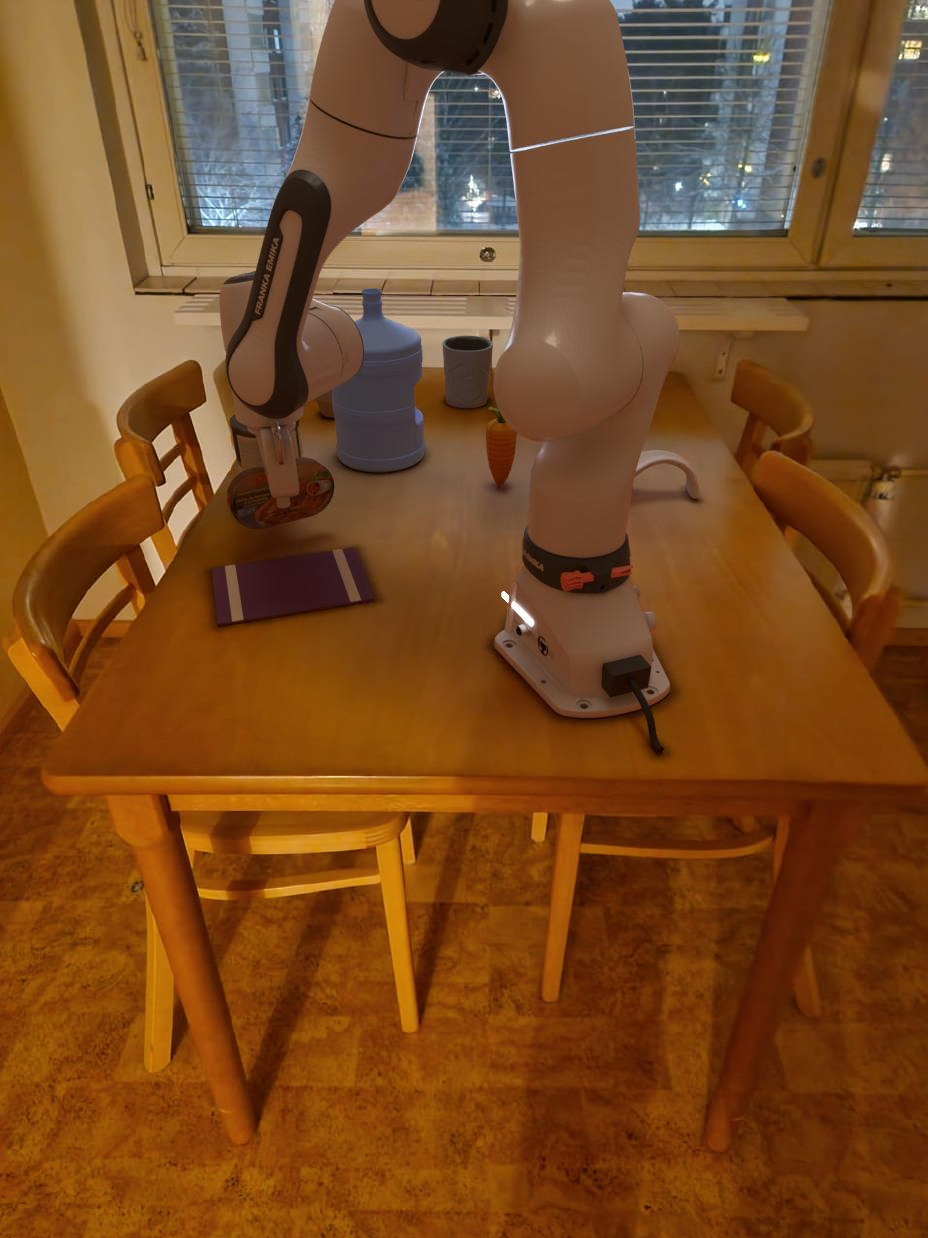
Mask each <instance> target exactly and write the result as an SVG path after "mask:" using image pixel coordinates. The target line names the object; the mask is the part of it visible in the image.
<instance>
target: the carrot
mask: <svg viewBox="0 0 928 1238" xmlns="http://www.w3.org/2000/svg"><path fill="white" fill-rule="evenodd" d="M488 412H491V413H492V414H494V415H495V418H493V419H492V420H490V421H488V423H486V426H485V444H486V445H485V446H486V447H485V448H486V457H487V461H488V468H489V471H490V473H491V476H492V478H493V480H494V482H495V485H496V486H497V487H498V488H501V487H502V486H503V485H505V483H506V481H507V479H508V478H509V475H510V473H511V471H512V467H513V464H514V460H515V454H516V447H517V434H518V433H517V432H516V431H515V430H513V429H512V428H511V427H510V426H509V425H508V423H507V422H506V421H505V419H504V418H503V416H502V415H501V413H500V411H499V409H498V407H492V406H490V407H488Z"/></svg>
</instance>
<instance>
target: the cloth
mask: <svg viewBox="0 0 928 1238" xmlns="http://www.w3.org/2000/svg"><path fill="white" fill-rule="evenodd" d="M211 577H212V587H213V596H214V603H215V604H214V605H215V613H216V623H217V627H218V628H219V627H224V626H225V627H226V626H231V625H237V624H242V623H248V622H255V621H260V620H266V619H271V618H278V617H285V616H290V615H297V614H302V613H308V612H315V611H320V610H327V609H332V608H339V607H346V606H351V605H358V604H363V603H364V604H365V603H369V602H375V601H376V597H375V595H374V593H373V590H372V588H371V586H370V585H371V584H370V583H369V580H368V578H367V575H366V573H365V570H364V568H363V565H362V563H361V561H360V557H359V556H358V553H357V550H356V548H355V547H354V546H353V547H347V548H336V549H332V550H327V551H319V552H314V553H306V554H299V555H294V556H293V555H292V556H287V557H281V558H273V559H267V560H259V561H253V562H246V563H239V564H229V565H224V566H219V567H213V568H211Z"/></svg>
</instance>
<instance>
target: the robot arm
mask: <svg viewBox="0 0 928 1238" xmlns="http://www.w3.org/2000/svg"><path fill="white" fill-rule="evenodd" d="M331 6H332V7H331V8H330V9H331V10H330V12H329V15H328V17H327V21H326V25H325V28H324V30H323V34H322V37H321V41H320V45H319V49H318V52H317V56H316V60H315V65H314V69H313V70H314V71H313V74H312V79H311V83H310V90H309V97H308V101H307V102H308V103H307V107H306V113H305V117H304V122H303V125H302V130H301V134H300V138H299V141H298V144H297V147H296V150H295V154H294V156H293V159H292V162H291V164H290V167H289V169H288V172H287V174H286V176H285V178H284V180H283V181H282V183H281V186H280V188H279V190H278V192H277V194H276V197H275V199H274V202H273V205H272V208H271V211H270V214H269V217H268V222H267V225H266V229H265V232H264V236H263V240H262V244H261V248H260V251H259V256H258V260H257V264H256V268H255V270H253V271H251V272H243V273H240V274H238V275H234V276H231V277H229V278H227V279H226V280H225V281H224V283H222V285H221V287H220V292H219V319H220V321H219V322H220V329H221V335H222V342H223V348H224V352H225V372H226V373H225V374H226V378H227V382H228V385H229V387H230V392H231V396H232V397H231V398H232V403H233V409H234V414H235V416H236V419H237V421H238V422H240V423H241V424H244V425H247V429H248V431H249V432H250V433H252V434H254V435H255V436H256V440H257V442H258V446H259V450H260V454H261V458H262V462H263V466H264V470H265V473H266V477H267V481H268V485H269V489H270V493H271V495H272V497H273V498H276V503H277V506H278V508H286V507H289V506H290V497H291V496H296V495H298V494H299V482H298V475H297V467H296V460H295V454H294V448H293V443H292V440H291V436H290V434H289V432H291V431H292V430H293V429H294V428H295V427H296V423H295V421H297V420H299V419H300V420H301V419H302V417H303V416H304V414H305V410H304V406H305V405H306V404H307V403H310V402H311V401H313V400H316V399H315V398H317V397H319V396H321V395H323V394H325V393H327V392H329V391H331V390H332V389H334V388H336V387H338V386H339V385H341V384H343V383H345V382H347V381H348V380H349V379H351V378H352V377H354V376H355V375H356V374H357V373H358V372H359V370H360V368H361V366H362V363H363V358H364V345H363V340H362V336H361V333H360V331H359V328H358V327H357V325H356V323H355V320H354V319H353V318H352V317H351V315H350V314H348V312H346V311H345V310H344V309H342V308H340V307H338V306H335V305H330V304H329V305H328V304H326V303H323V302H321V301H318V300H316V299H315V298H314V294H315V291H316V289H317V284H318V281H319V277H320V274H321V271H322V269H323V267H324V265H325V263H326V262H327V260H328V259H329V257H330V256H331V254H332V253H333V252H334V250H335V249H336V248H337V247H338V246H339V245H340V244H341V243H342V242H343V241H344V240H345V239H346V238H347V237H348V236H350V234H351V233H352V232H354V231H355V230H356V229H358V228H359V227H360V226H361V225H363V224H364V223H366V222H367V221H368V220H370V219H371V218H373V217H374V216H376V215H377V214H378V213H380V212H381V211H383V210H384V209H385V208H386V207H388V206H389V205H390V204H391V203H392V202H393V201H394V199H396V197H397V196H398V193H399V191H400V189H401V187H402V185H403V183H404V180H405V178H406V176H407V173H408V171H409V169H410V166H411V163H412V160H413V157H414V152H415V148H416V144H417V141H418V137H419V136H418V135H419V132H420V127H421V122H422V119H423V114H424V110H425V106H426V102H427V99H428V95H429V93H430V90H431V88H432V86H433V84H434V83H435V81H436V80H437V79H438V78H439V76H441V75H442V74H443V73H444V72H446V73H453V74H459V75H465V76H476V75H477V76H479V75H485V76H486V77H488V79H490V80H491V81H492V82H493V83H494V85H495V87H496V88H497V89H498V92H499V95H500V97H501V98H502V103H503V108H504V114H505V119H506V128H507V136H508V146H509V152H511V153H509V154H510V163H511V171H512V180H513V181H512V182H513V189H514V198H515V199H514V200H515V207H516V217H517V226H518V238H519V259H518V260H519V261H518V262H519V263H518V265H519V266H518V277H517V288H516V295H515V302H514V303H515V304H514V310H513V316H512V322H511V327H510V331H509V335H508V339H507V342H506V344H505V347H504V348H503V350H502V353H501V355H500V357H499V358H498V360H497V362H496V365H495V368H494V372H493V378H492V379H493V381H492V389H493V390H492V391H493V397H494V401H495V403H496V406H497V408H498V410H499V411H500V414H501V415H502V416H503V418H504V419H505V421H506V422H507V423H508V425H509V426H510V427H511V428H512V429H513V430H515V431H516V432H517V434H519V435H520V436H522V437H523V438H525V439H528V440H531V441H534V442H539V443H542V445H541V447H540V449H539V450H538V453H537V454H536V456H535V457H534V460H533V463H532V466H531V470H530V480H529V481H530V482H529V497H528V498H529V499H528V521H527V525H526V526H525V527H524V532H523V537H522V541H521V552H522V553H521V561H522V563H523V564H522V566H521V568H520V571H519V572H518V573H517V575H516V577H515V578H514V580H513V581H512V582H511V584H510V587H509V593H508V594H507V593H506V592H505V591H502V592H501V597H502V599H504V600H505V602H507V609H506V617H505V624H504V625H505V626H504V629H503V630H501V631H500V632H498V633H497V634H496V636H495V637H494V641H493V647H494V649H495V650H496V651H497V652H498V653H499V655H501V656H502V657H503V659H504V660H505V661H506V662H507V663H508V664H509V665H510V666H511V667H512V668H513V669H514V670H515V671H516V672H517V674H518V675H519V676H521V677H522V679H523V680H524V681H525V682H526V683H527V684H528V685H529V686H530V687H531V689H533V690H534V691H535V692H536V693H537V694H538V696H540V698H541V699H542V700H543V701H544V702H545V703H546V704H547V705H548V706H549V707H550V708H551V709H552V710H553V711H554V712H555V713H556V714H558V715H560V716H563V717H568V718H578V719H594V718H595V719H597V718H598V719H599V718H606V717H613V716H619V715H623V714H628V713H630V712H635V711H638V710H642V712H643V715H644V717H645V720H646V724H647V731H648V737H649V740H650V743H651V746H652V748H653V749H654V750H655V751H656V752H657V753H658V754H659V753H663V751H664V750H665V748H664V746H663V745H662V744H661V743H660V740H659V738H658V734H657V727H656V721H655V717H654V714H653V712H652V710H651V707H650V706H652V705H655V704H656V703H658V702H661V701H662V700H663V699H664V698H666V696H667V695H668V694H669V693H670V692H671V683H670V680H669V678H668V676H667V674H666V672H665V670H664V667H663V666H662V663H661V661H660V660H659V657H658V656H657V654H656V652H655V650H654V642H653V636H652V633H651V632H654V631H655V630H656V629H657V616H656V614H655V612H654V611H644V610H643V607H642V605H641V601H640V599H639V598H640V597H641V589H640V586H637V585H634V583H633V580H632V579H631V575H633V572H632V569H633V568H634V566H633V564H632V565H631V556H632V555H631V547H630V541H629V540H630V539H629V535H628V533H627V528H628V522H629V513H630V508H631V501H632V494H633V489H634V487H633V486H634V481H635V478H636V477H635V473H636V468H637V465H638V461H639V458H640V455H641V452H643V448H644V445H645V443H646V439H647V436H648V433H649V431H650V427H651V425H652V421H653V419H654V414H655V412H656V409H657V405H658V402H659V398H660V395H661V392H662V389H663V386H664V383H665V380H666V379H667V376H668V374H669V372H670V370H671V368H672V366H673V365H674V362H675V361H676V359H677V356H678V353H679V349H680V342H681V335H680V333H681V332H680V327H679V324H678V321H677V318H676V316H675V314H674V313H673V311H672V310H671V308H670V307H669V306H668V305H667V304H666V303H665V302H664V301H663V300H662V299H660V298H658V297H656V296H654V295H652V294H650V293H649V294H648V293H644V292H643V293H642V292H634V291H627V292H625V291H624V288H625V280H626V275H627V269H628V265H629V264H628V263H629V259H630V255H631V253H632V250H633V247H634V244H635V242H636V240H637V237H638V235H639V232H640V226H641V209H640V207H641V206H640V192H639V191H640V189H639V176H638V175H639V173H638V172H639V171H638V157H637V141H636V140H637V139H636V129H635V127H636V126H635V112H634V101H633V94H632V86H631V85H632V84H631V77H630V71H629V66H628V59H627V56H626V55H627V54H626V49H625V45H624V40H623V35H622V31H621V27H620V23H619V19H618V15H617V11H616V8H615V6H614V5H613V2H611V0H334V1H333V4H332V5H331ZM300 420H299V421H300ZM634 477H635V478H634Z"/></svg>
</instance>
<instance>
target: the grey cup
mask: <svg viewBox="0 0 928 1238" xmlns="http://www.w3.org/2000/svg"><path fill="white" fill-rule="evenodd" d="M441 344H442V345H441V346H442V357H443V374H444V390H445V401H446V404H447V405H449V406H451V407H453V408H459V409H476V408H480V407H482V406H484V405H486V404H487V402H488V397H489V396H488V392H489V391H488V390H489V383H490V373H491V363H492V357H493V348H494V343H493V342H492V340H490V339H489V338H486V337H483V336H478V335H455V336H451V337H448V338H445V339H444V340H443V341H442V343H441Z"/></svg>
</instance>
